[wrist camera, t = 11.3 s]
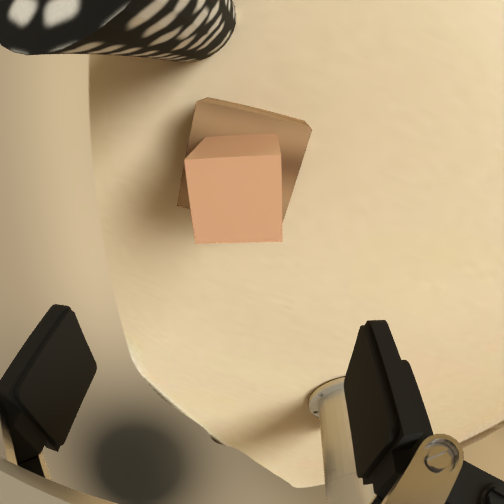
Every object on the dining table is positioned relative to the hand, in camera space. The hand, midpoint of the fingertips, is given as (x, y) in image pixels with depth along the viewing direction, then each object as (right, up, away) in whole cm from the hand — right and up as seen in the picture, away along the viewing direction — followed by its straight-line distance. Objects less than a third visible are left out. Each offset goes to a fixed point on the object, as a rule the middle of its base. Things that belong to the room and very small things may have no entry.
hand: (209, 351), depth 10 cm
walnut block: (+1, +12, +20) cm, 23 cm away
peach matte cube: (+1, +10, +15) cm, 18 cm away
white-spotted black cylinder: (-4, +24, +13) cm, 27 cm away
